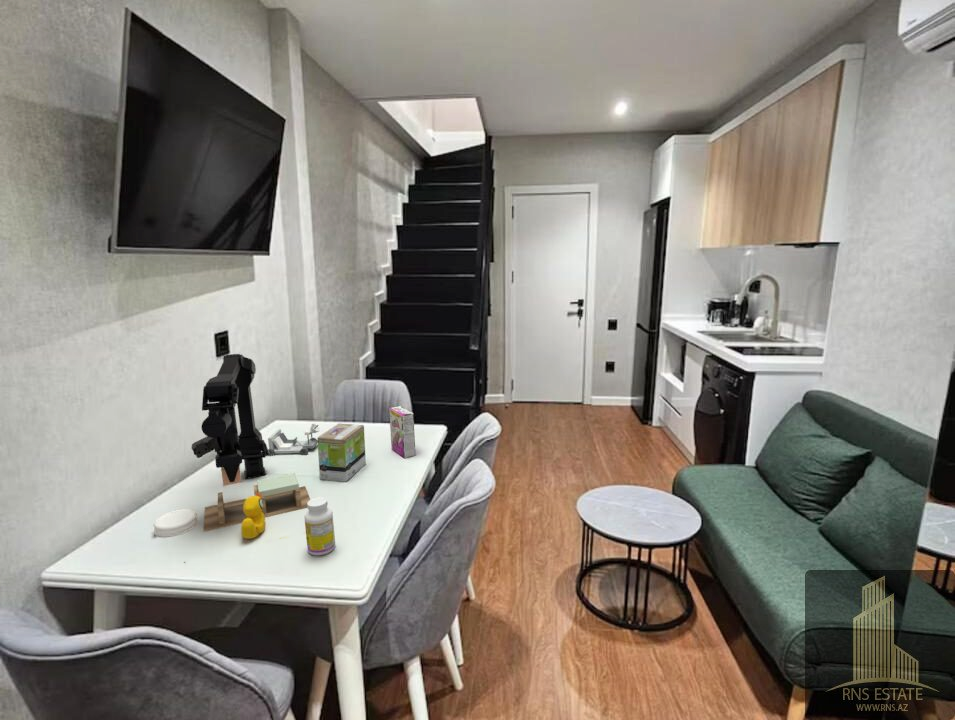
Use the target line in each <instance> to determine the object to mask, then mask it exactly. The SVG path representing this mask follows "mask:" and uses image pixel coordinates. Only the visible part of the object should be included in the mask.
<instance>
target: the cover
mask: <svg viewBox="0 0 955 720" xmlns="http://www.w3.org/2000/svg"><path fill="white" fill-rule="evenodd" d="M298 481H299V480H298V478H297V475H296V473H295V472H294V473H289V474H283V475H279V476H273V477H269V478H263V479H257V480H256V485H258V491H259V493H260V494H261V497H264V496H268V495H273V494H278V493H282V492H287V491H292V490H297V489H299V487H300V484H299V482H298Z"/></svg>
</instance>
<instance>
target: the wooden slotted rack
mask: <svg viewBox="0 0 955 720" xmlns="http://www.w3.org/2000/svg"><path fill="white" fill-rule="evenodd" d="M253 493H254V495H253V496H256V495H257V493H259V491H258V485H257V484H256V485H255V484H254V485H253ZM246 499H247V498H243V499H238V500H237V499H236V500H232V501H228V502H225V501H224V493H223V491H220V492H217V504H214V505H209V506H205V507H204V515H203V516H204V517H203V533H205V532H208V531H211V530H217V529H221V528H225V527H230V526H235V525H238V524H242V522H243V520H244V519H246V518H247V516H246V515H245V513H244V511H243V505H244V502H245V500H246ZM261 499H262V502H263V509H262V511H261V512H262V513H263V514H264V516H265V518H271V517H273V516H278V515H282V514H287V513H290V512H291V513H292V512H295V511H300V510H304V509H308V507H307V503H308V501H309V500H311V498H310V495H309V493H308V489H307V487H306V486H305V485H304V486H303V485H302V486H299V489H297V490H292V491H287V492H282V493H278V494H273V495H268V496H264V497H261Z"/></svg>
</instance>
